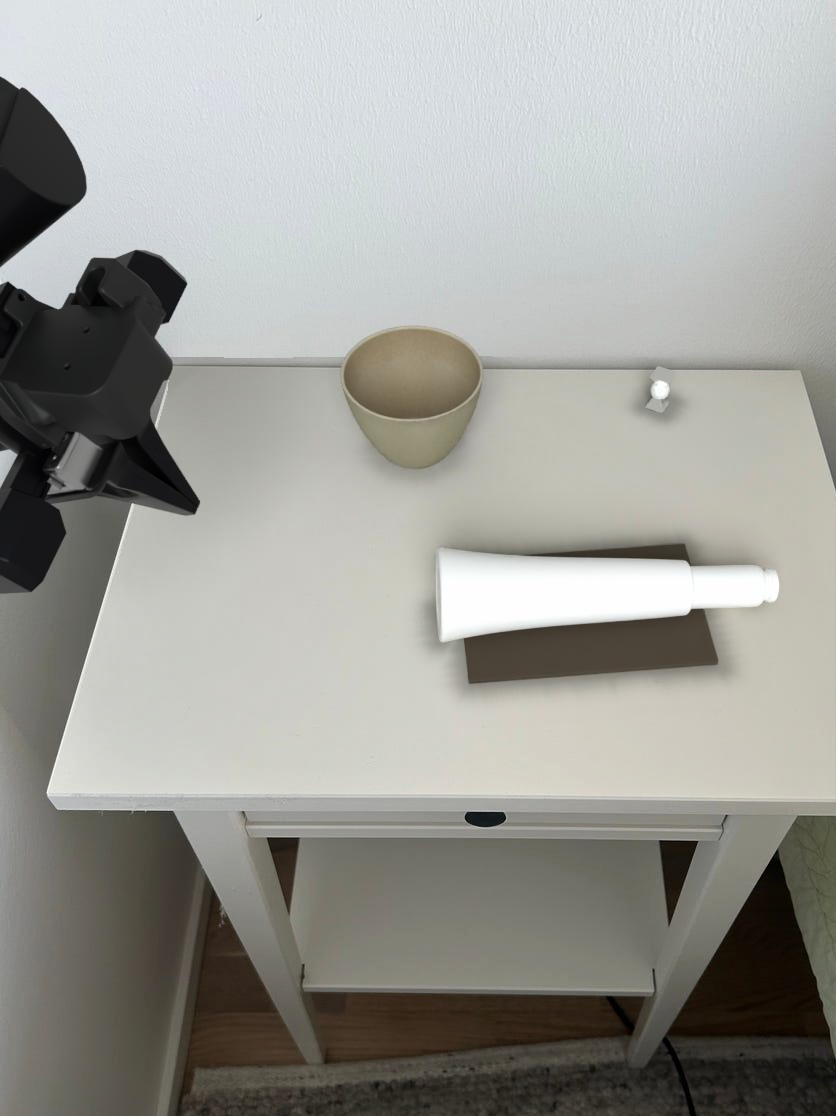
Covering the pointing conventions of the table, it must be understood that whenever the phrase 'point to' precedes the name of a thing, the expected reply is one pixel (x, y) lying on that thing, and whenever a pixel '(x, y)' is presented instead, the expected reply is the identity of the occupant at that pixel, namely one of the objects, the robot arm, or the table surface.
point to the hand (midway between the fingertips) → (193, 509)
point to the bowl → (412, 391)
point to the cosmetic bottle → (581, 590)
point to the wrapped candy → (660, 389)
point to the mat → (595, 638)
